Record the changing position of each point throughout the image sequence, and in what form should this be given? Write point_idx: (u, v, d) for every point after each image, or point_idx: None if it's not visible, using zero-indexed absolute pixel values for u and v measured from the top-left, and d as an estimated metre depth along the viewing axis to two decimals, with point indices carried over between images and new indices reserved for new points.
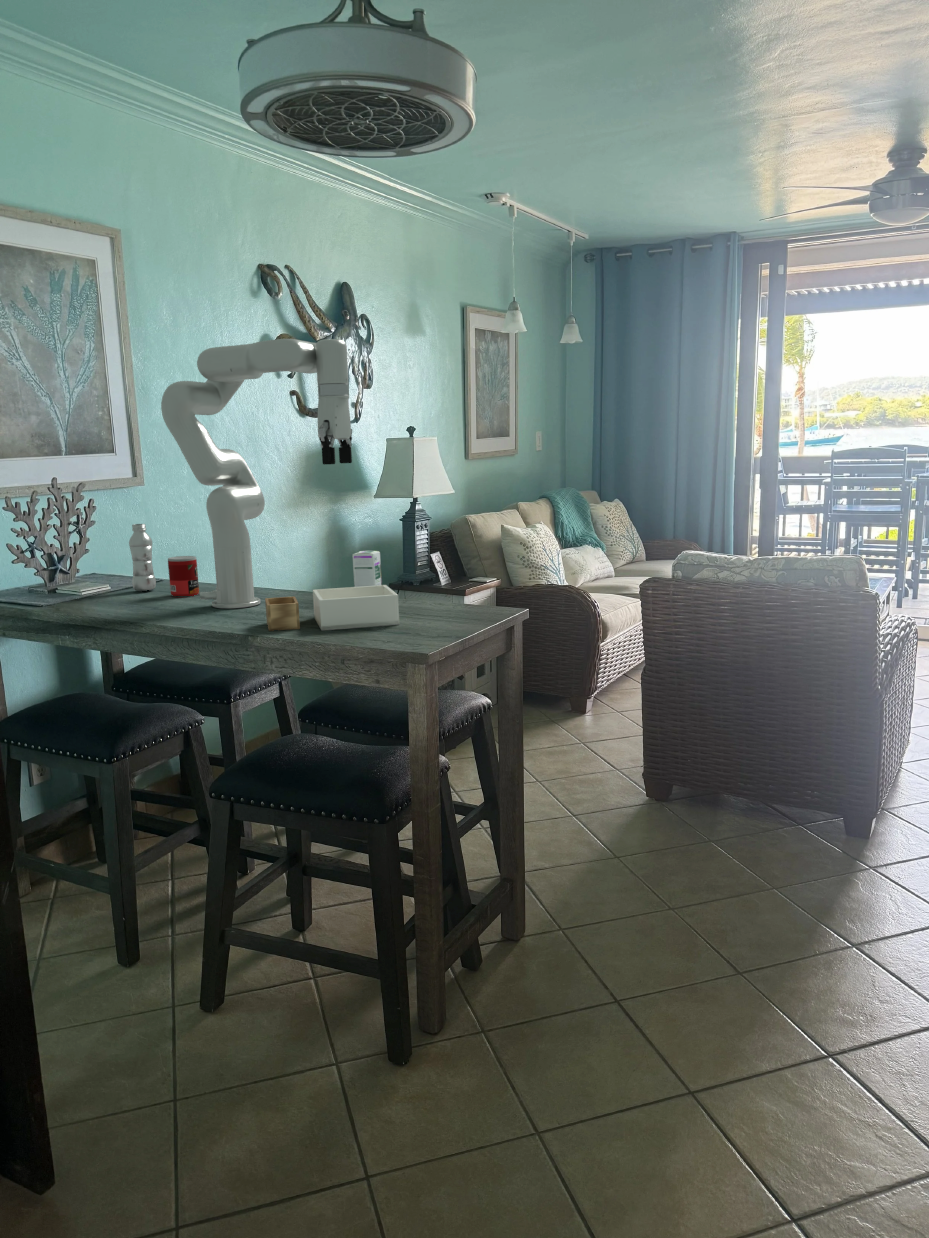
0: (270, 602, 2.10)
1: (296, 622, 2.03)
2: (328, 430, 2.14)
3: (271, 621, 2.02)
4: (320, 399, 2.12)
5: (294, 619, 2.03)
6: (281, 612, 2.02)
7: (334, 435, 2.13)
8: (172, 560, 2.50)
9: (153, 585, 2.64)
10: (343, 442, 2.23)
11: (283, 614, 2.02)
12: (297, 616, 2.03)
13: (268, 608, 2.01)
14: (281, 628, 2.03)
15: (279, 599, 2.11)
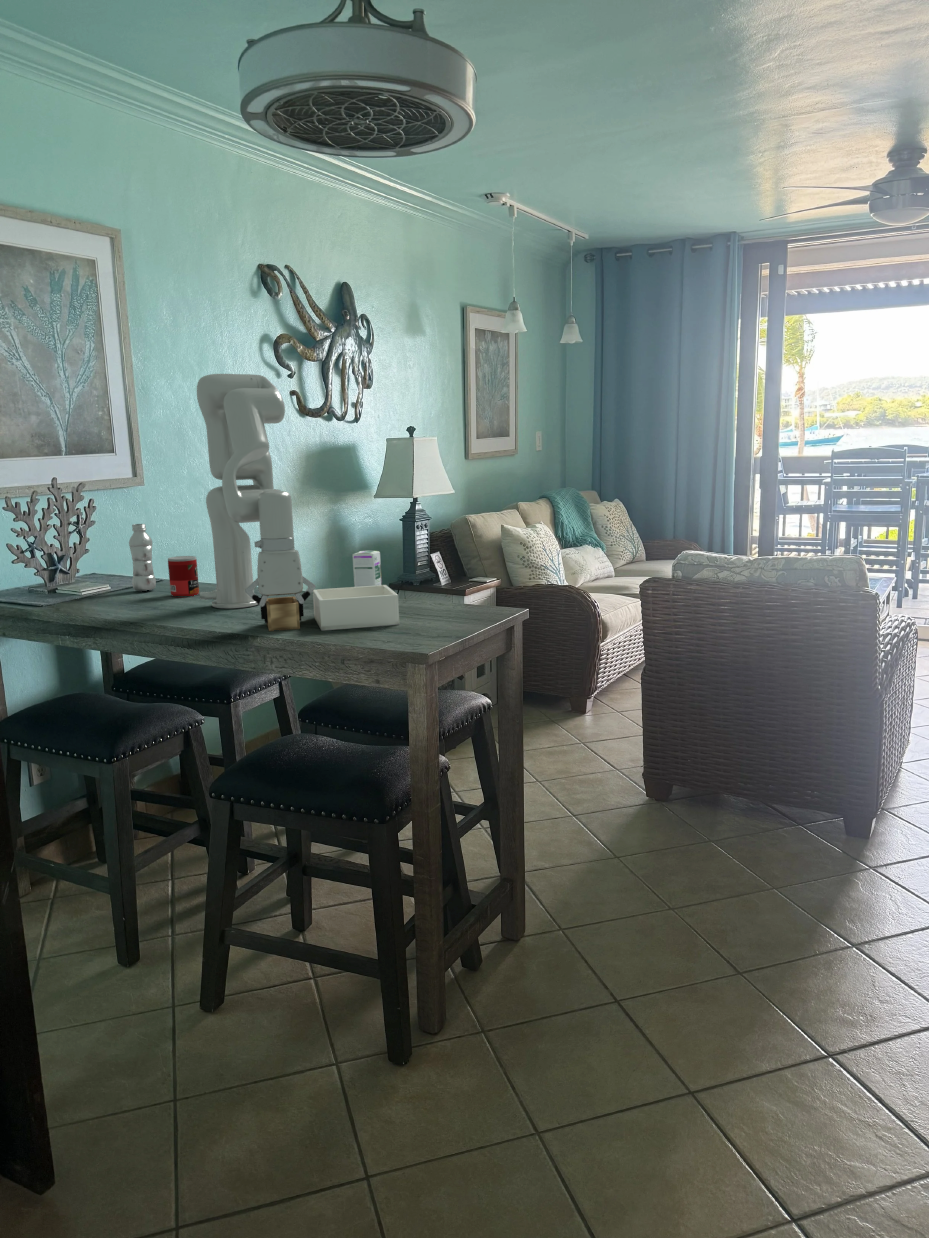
0: (270, 602, 2.10)
1: (297, 622, 2.03)
2: None
3: (271, 621, 2.02)
4: (297, 552, 2.04)
5: (294, 619, 2.03)
6: (281, 612, 2.02)
7: None
8: (172, 560, 2.50)
9: (153, 585, 2.64)
10: None
11: (283, 614, 2.02)
12: (297, 616, 2.03)
13: (268, 608, 2.01)
14: (281, 628, 2.03)
15: (279, 599, 2.11)
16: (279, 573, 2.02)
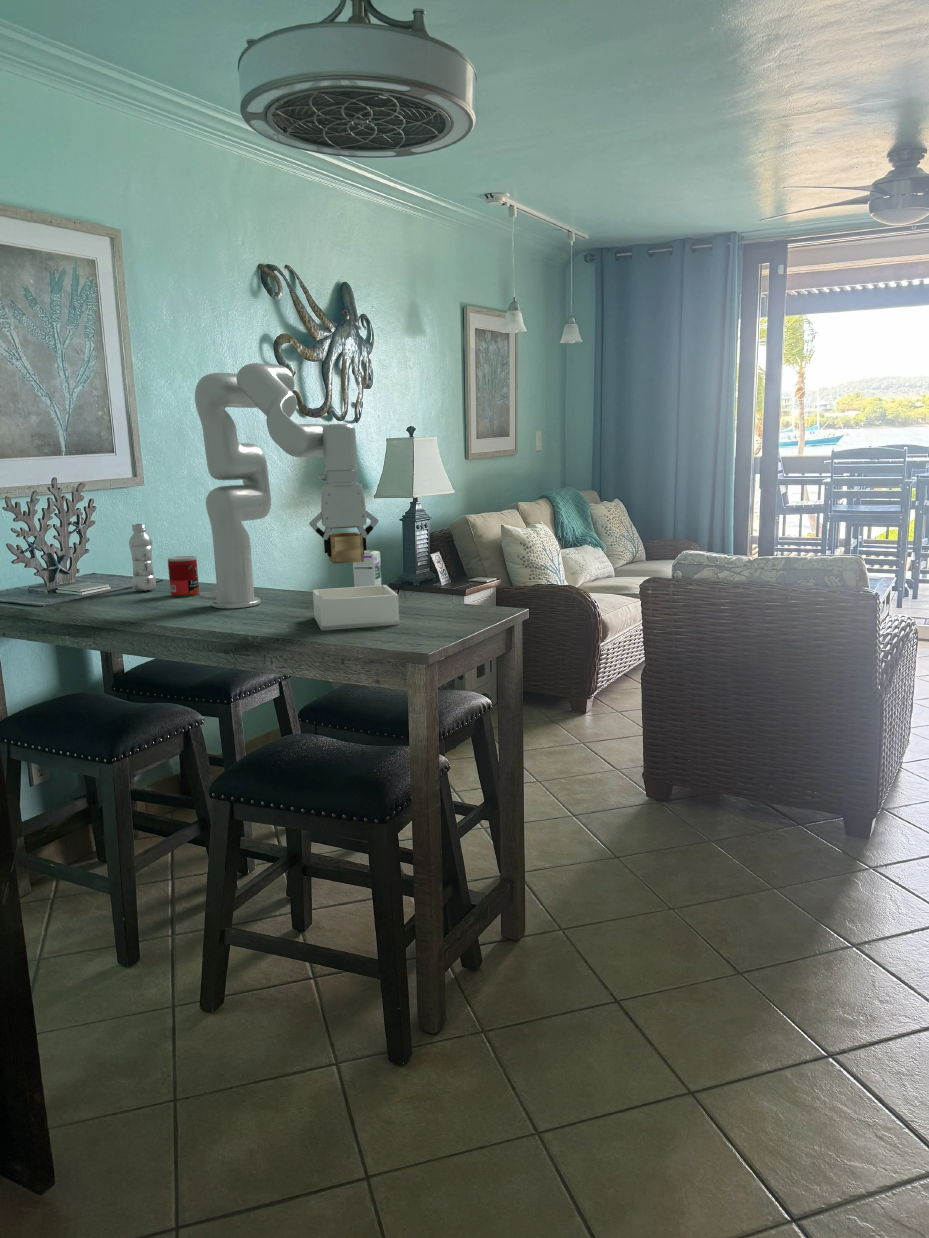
0: None
1: (360, 555, 2.03)
2: None
3: (335, 553, 2.02)
4: (361, 485, 2.04)
5: (358, 552, 2.03)
6: (345, 545, 2.02)
7: None
8: (172, 560, 2.50)
9: (153, 585, 2.64)
10: None
11: (347, 547, 2.02)
12: (361, 549, 2.03)
13: (333, 540, 2.01)
14: (345, 561, 2.03)
15: (341, 534, 2.11)
16: (343, 506, 2.03)
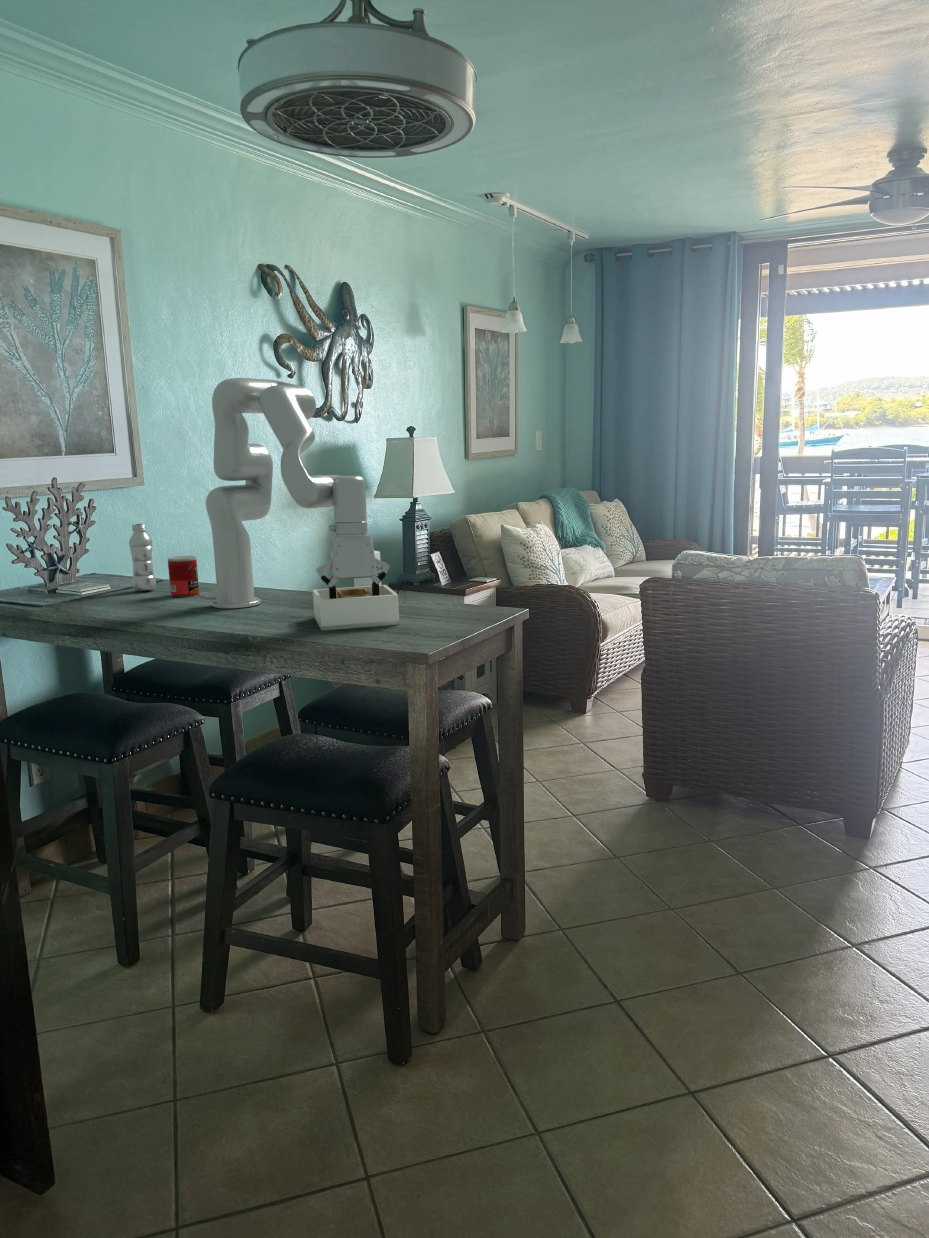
0: (342, 594, 2.13)
1: None
2: None
3: None
4: None
5: None
6: None
7: None
8: (172, 560, 2.50)
9: (153, 585, 2.64)
10: None
11: None
12: None
13: None
14: None
15: (350, 591, 2.14)
16: (353, 556, 2.05)
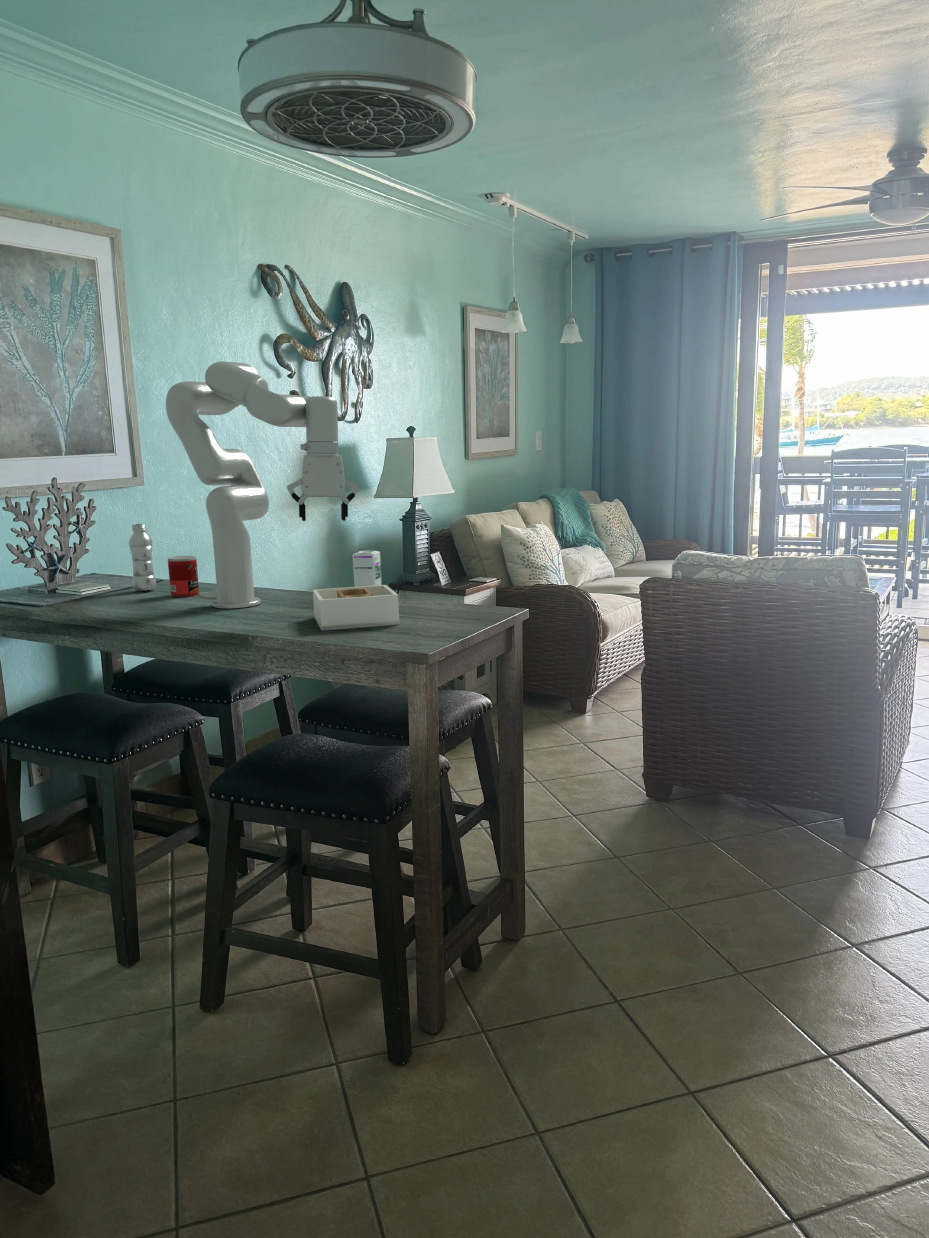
0: (342, 594, 2.13)
1: None
2: None
3: None
4: (341, 456, 2.13)
5: None
6: None
7: None
8: (172, 560, 2.50)
9: (153, 585, 2.64)
10: None
11: None
12: None
13: None
14: None
15: (350, 591, 2.14)
16: (323, 475, 2.11)
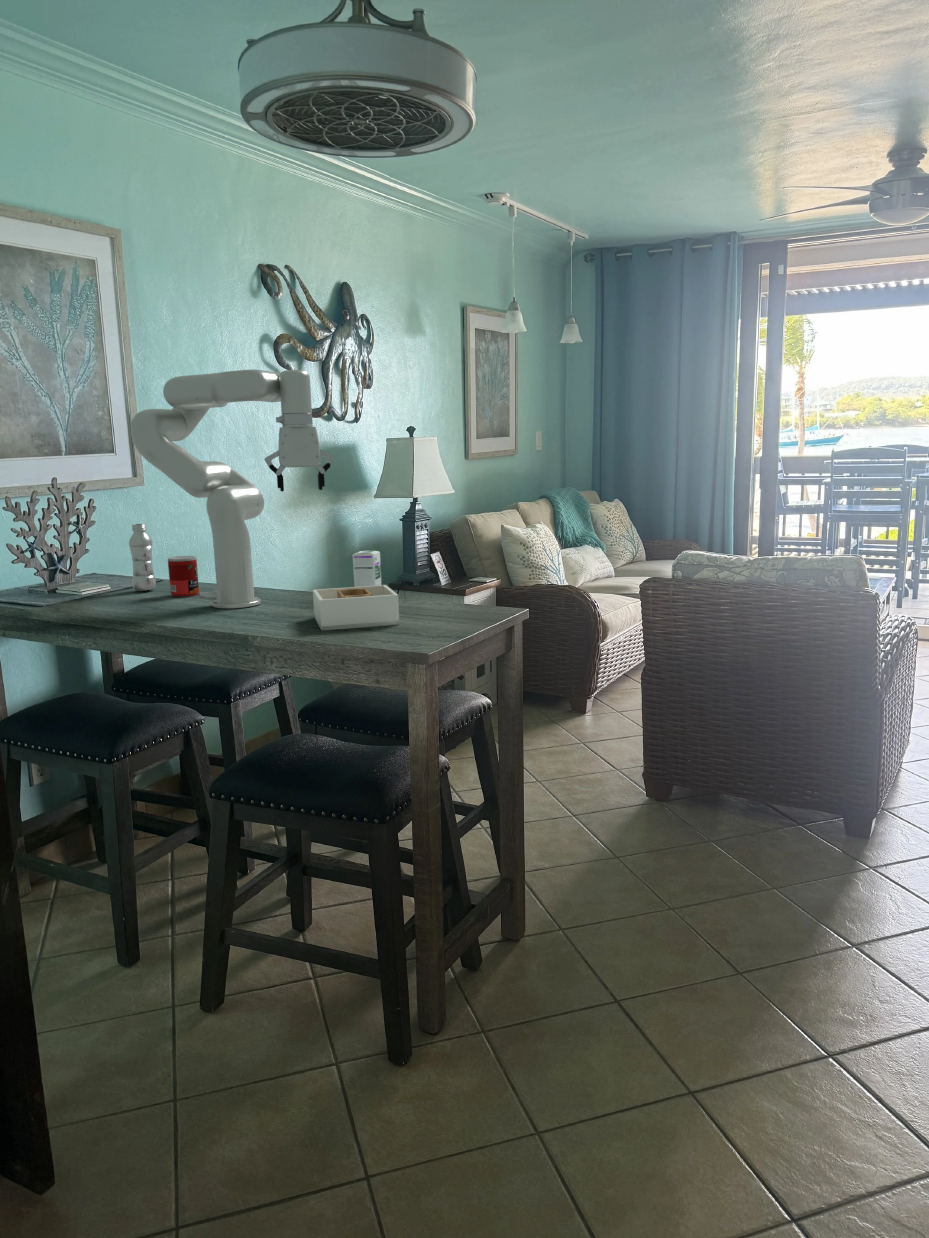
0: (342, 594, 2.13)
1: None
2: None
3: None
4: (315, 428, 2.21)
5: None
6: None
7: None
8: (172, 560, 2.50)
9: (153, 585, 2.64)
10: None
11: None
12: None
13: None
14: None
15: (350, 591, 2.14)
16: (298, 446, 2.20)
